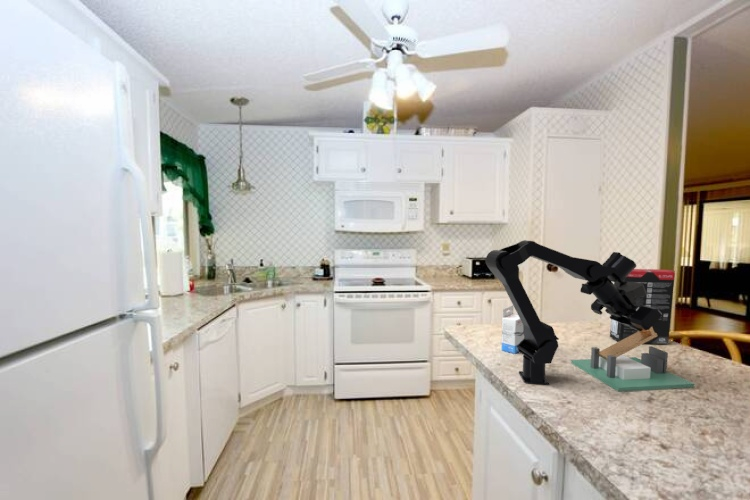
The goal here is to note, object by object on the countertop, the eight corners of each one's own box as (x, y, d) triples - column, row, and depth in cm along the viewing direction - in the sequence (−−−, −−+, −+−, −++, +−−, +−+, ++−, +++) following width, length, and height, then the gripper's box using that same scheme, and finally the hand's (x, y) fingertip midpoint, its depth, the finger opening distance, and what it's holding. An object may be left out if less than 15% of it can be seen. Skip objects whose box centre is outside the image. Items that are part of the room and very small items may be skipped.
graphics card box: (657, 339, 126) (661, 268, 124) (671, 345, 119) (676, 270, 117) (609, 337, 128) (612, 267, 125) (620, 344, 121) (624, 270, 119)
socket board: (618, 391, 86) (619, 365, 86) (571, 363, 104) (572, 341, 104) (694, 387, 89) (696, 361, 88) (635, 360, 106) (636, 338, 106)
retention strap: (609, 361, 93) (605, 350, 93) (598, 355, 97) (594, 345, 97) (657, 336, 94) (653, 325, 94) (644, 331, 98) (640, 321, 98)
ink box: (515, 354, 112) (516, 311, 110) (500, 350, 115) (502, 308, 114) (525, 347, 117) (526, 307, 116) (511, 344, 121) (512, 304, 120)
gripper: (657, 278, 85) (693, 319, 87) (601, 268, 103) (631, 302, 105) (627, 309, 85) (664, 349, 87) (576, 294, 103) (607, 327, 105)
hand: (640, 330), depth 96 cm, fingers closed
